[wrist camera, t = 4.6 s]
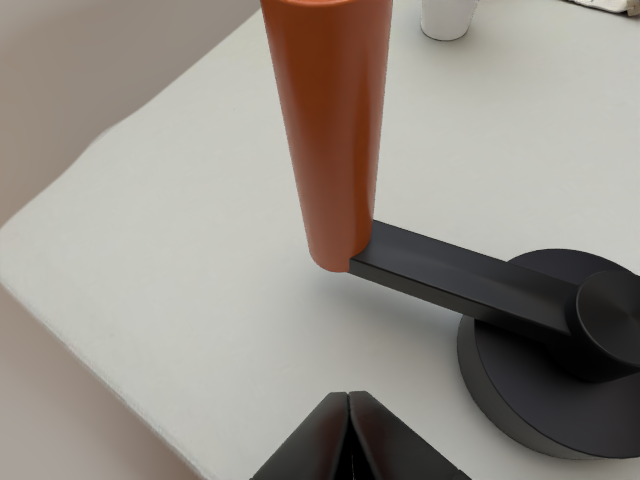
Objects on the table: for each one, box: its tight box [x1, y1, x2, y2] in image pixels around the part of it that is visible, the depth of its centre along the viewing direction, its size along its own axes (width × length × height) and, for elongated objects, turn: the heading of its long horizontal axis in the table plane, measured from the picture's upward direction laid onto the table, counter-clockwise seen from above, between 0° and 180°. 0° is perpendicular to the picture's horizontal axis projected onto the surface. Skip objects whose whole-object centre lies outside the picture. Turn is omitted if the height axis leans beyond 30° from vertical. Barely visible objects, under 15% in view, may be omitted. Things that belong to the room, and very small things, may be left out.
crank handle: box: [260, 0, 640, 382], centre depth 11 cm, size 13×3×12 cm, turn 67°
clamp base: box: [457, 249, 640, 459], centre depth 17 cm, size 8×8×3 cm
